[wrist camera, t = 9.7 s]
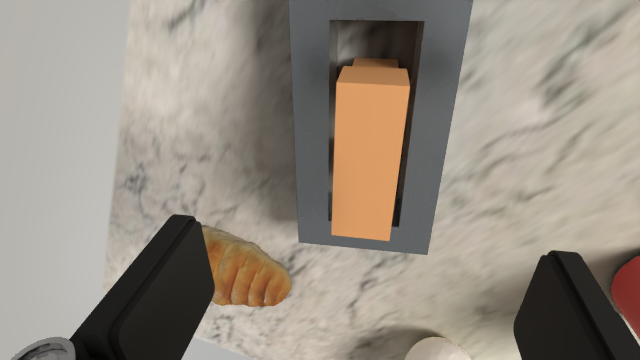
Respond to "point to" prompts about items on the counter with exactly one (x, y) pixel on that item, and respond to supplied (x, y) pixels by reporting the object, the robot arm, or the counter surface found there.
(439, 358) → the egg
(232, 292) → the pastry
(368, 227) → the tall orange stepped block
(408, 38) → the counter surface
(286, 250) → the counter surface
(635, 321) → the beer can
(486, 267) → the counter surface
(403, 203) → the gray rectangular frame
